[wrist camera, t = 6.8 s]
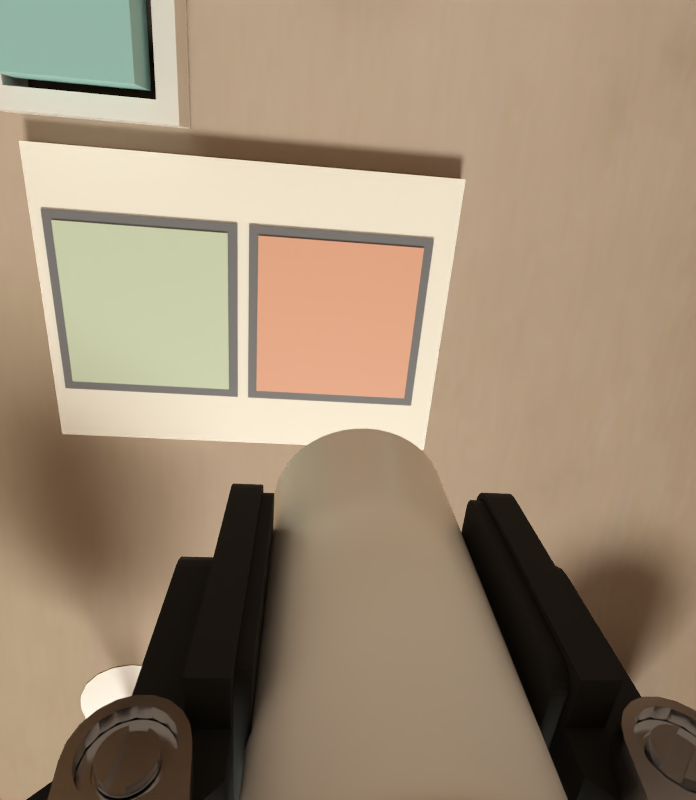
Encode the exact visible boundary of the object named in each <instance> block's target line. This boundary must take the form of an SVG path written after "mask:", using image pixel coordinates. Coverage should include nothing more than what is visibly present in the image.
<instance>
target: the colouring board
mask: <svg viewBox="0 0 696 800" xmlns="http://www.w3.org/2000/svg"><path fill="white" fill-rule="evenodd" d="M19 146H20V152H21V159H22V166H23V173H24V179H25V186H26V193H27V200H28V206H29V213H30V220H31V227H32V233H33V240H34V247H35V254H36V260H37V267H38V274H39V281H40V287H41V294H42V301H43V308H44V314H45V321H46V328H47V335H48V341H49V348H50V355H51V362H52V368H53V375H54V382H55V389H56V395H57V402H58V409H59V416H60V422H61V429H62V434H71V435H94V436H117V437H140V438H162V439H185V440H208V441H231V442H254V443H276V444H299V445H308V444H310V443H311V442H313V441H315V440H317V439H319V438H321V437H323V436H326V435H328V434H331V433H334V432H338V431H342V430H348V429H366V428H367V429H376V430H382V431H386V432H390V433H393V434H395V435H398V436H401V437H402V438H404V439H406V440H408V441H410V442H411V443H413V444H414V445H416V446H417V447H418V448H419V449H420V450H424V444H425V438H426V431H427V425H428V419H429V412H430V406H431V399H432V393H433V386H434V380H435V373H436V367H437V361H438V354H439V348H440V341H441V335H442V328H443V322H444V315H445V309H446V302H447V296H448V290H449V283H450V277H451V270H452V264H453V257H454V251H455V244H456V238H457V232H458V225H459V219H460V212H461V206H462V199H463V193H464V186H465V179H455V178H444V177H432V176H421V175H409V174H398V173H386V172H375V171H363V170H352V169H340V168H329V167H317V166H306V165H294V164H283V163H271V162H260V161H248V160H237V159H225V158H214V157H202V156H191V155H179V154H168V153H156V152H145V151H133V150H122V149H110V148H99V147H87V146H76V145H64V144H53V143H41V142H30V141H19Z"/></svg>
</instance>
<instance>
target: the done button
mask: <svg viewBox="0 0 696 800" xmlns="http://www.w3.org/2000/svg"><path fill="white" fill-rule="evenodd" d="M0 74H4V75H7V76H11V77H14V78H20V79H31V80H41V81H51V82H62V83H72V84H83V85H93V86H103V87H114V88H124V89H135V90H145V91H151V82H150V65H149V48H148V30H147V13H146V0H0Z"/></svg>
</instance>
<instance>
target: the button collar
mask: <svg viewBox="0 0 696 800" xmlns="http://www.w3.org/2000/svg"><path fill="white" fill-rule="evenodd" d="M151 15H152V34H153V52H154V70H155V89H156V99H145V98H135V97H124V96H114V95H103V94H93V93H82V92H72V91H61V90H51V89H40V88H29V85H28V79H20V78H14V77H11V76H7V75H4V74H0V111H5V112H11V113H22V114H33V115H44V116H55V117H66V118H77V119H88V120H99V121H110V122H121V123H132V124H143V125H154V126H165V127H176V128H187V129H190V98H189V68H188V38H187V7H186V0H151Z"/></svg>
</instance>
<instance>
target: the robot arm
mask: <svg viewBox="0 0 696 800" xmlns="http://www.w3.org/2000/svg"><path fill="white" fill-rule="evenodd" d="M273 524H274V493H263V485H255V484H232V487H231V490H230V494H229V498H228V502H227V506H226V510H225V514H224V518H223V522H222V526H221V530H220V533H219V537H218V541H217V545H216V549H215V553H214V557H213V558H212V557H181V558H180V559H179V560H178V563H177V565H176V568H175V571H174V573H173V576H172V579H171V582H170V585H169V588H168V591H167V594H166V597H165V600H164V603H163V606H162V609H161V612H160V614H159V617H158V620H157V623H156V626H155V629H154V632H153V635H152V638H151V641H150V644H149V647H148V650H147V652H146V655H145V658H144V661H143V664H142V667H141V670H140V673H139V676H138V679H137V682H136V685H135V688H134V691H133V693H132V696H130V697H126V698H122V699H118V700H115V701H113V702H111V703H109V704H107V705H105V706H103V707H101V708H100V709H98V710H96V711H95V712H94V713H93V714H92V715H90V716H89V717H88V718H87V719H85V720H84V721H83V722H82V723H81V724H80V725H79V726H78V727H77V729H76V730H75V731H74V733H73V734H72V735H71V736H70V738H69V739H68V740H67V742H66V744H65V746H64V749H63V751H62V753H61V755H60V758H59V760H58V763H57V767H56V770H55V774H54V778H53V781H52V782H51V783H49V784H48V785H46V786H45V787H44V788H42V789H41V790H39V791H38V792H37V793H35V794H34V795H32V796H31V797H30V798H28V799H27V800H239V796H240V787H241V779H242V770H243V762H244V753H245V748H246V745H247V742H248V738H249V736H250V734H251V729H252V720H253V710H254V701H255V692H256V683H257V674H258V665H259V656H260V647H261V638H262V629H263V619H264V610H265V601H266V592H267V583H268V574H269V565H270V556H271V547H272V538H273ZM462 536H463V538H464V541H465V543H466V546H467V548H468V551H469V553H470V556H471V558H472V561H473V563H474V566H475V568H476V571H477V573H478V576H479V578H480V581H481V583H482V586H483V588H484V591H485V593H486V596H487V598H488V601H489V603H490V606H491V608H492V611H493V613H494V616H495V618H496V621H497V623H498V626H499V628H500V631H501V633H502V636H503V638H504V641H505V643H506V646H507V648H508V651H509V653H510V656H511V658H512V661H513V664H514V666H515V669H516V671H517V674H518V676H519V679H520V681H521V684H522V686H523V689H524V691H525V694H526V696H527V699H528V701H529V704H530V706H531V709H532V711H533V714H534V716H535V719H536V721H537V724H538V726H539V729H540V731H541V734H542V736H543V739H544V741H545V744H546V746H547V749H548V751H549V754H550V756H551V759H552V761H553V764H554V766H555V769H556V771H557V774H558V776H559V779H560V781H561V784H562V786H563V789H564V791H565V794H566V796H567V799H568V800H696V711H695V710H693V709H691V708H689V707H687V706H685V705H683V704H681V703H679V702H676V701H673V700H669V699H665V698H661V697H641V696H640V694H639V692H638V691H637V689H636V687H635V686H634V684H633V683H632V681H631V679H630V678H629V676H628V674H627V673H626V671H625V670H624V668H623V666H622V665H621V663H620V661H619V660H618V658H617V656H616V655H615V653H614V652H613V650H612V648H611V647H610V645H609V643H608V642H607V640H606V639H605V637H604V635H603V634H602V632H601V630H600V629H599V627H598V626H597V624H596V622H595V621H594V619H593V617H592V616H591V614H590V612H589V611H588V609H587V608H586V606H585V604H584V603H583V601H582V599H581V598H580V596H579V595H578V593H577V591H576V590H575V588H574V586H573V585H572V583H571V581H570V580H569V578H568V577H567V575H566V574H565V573H564V571H563V570H562V569H561V568H559V567H557V566H555V565H554V563H553V561H552V560H551V558H550V556H549V555H548V553H547V551H546V550H545V548H544V546H543V545H542V543H541V541H540V540H539V538H538V536H537V535H536V533H535V531H534V530H533V528H532V526H531V525H530V523H529V521H528V520H527V518H526V516H525V515H524V513H523V511H522V510H521V508H520V506H519V505H518V503H517V501H516V500H515V498H514V497H513V496H512V495H511V494H499V493H481V494H479V496H478V497H477V500H470V501H469V502H468V504H467V508H466V513H465V518H464V523H463V528H462Z"/></svg>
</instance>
